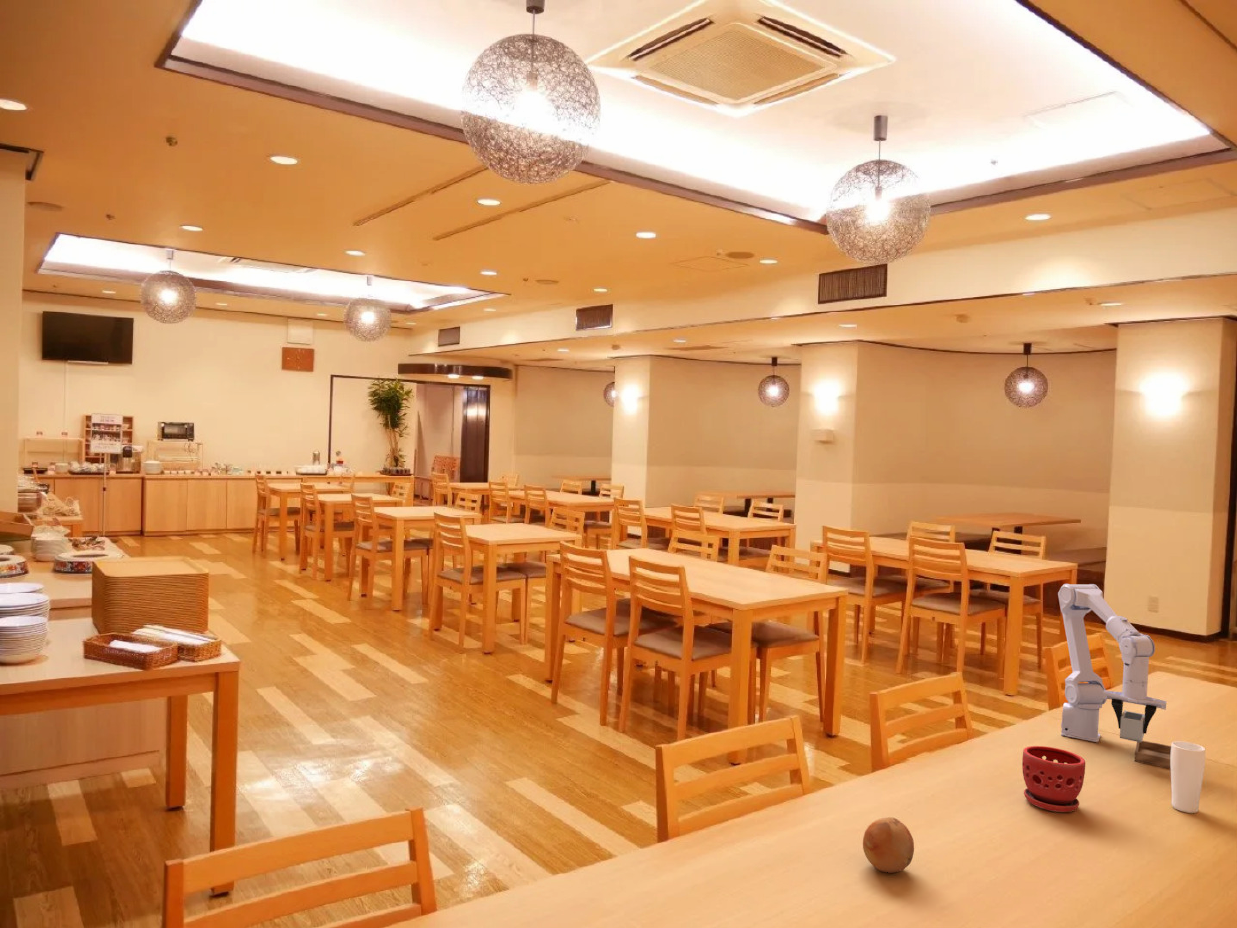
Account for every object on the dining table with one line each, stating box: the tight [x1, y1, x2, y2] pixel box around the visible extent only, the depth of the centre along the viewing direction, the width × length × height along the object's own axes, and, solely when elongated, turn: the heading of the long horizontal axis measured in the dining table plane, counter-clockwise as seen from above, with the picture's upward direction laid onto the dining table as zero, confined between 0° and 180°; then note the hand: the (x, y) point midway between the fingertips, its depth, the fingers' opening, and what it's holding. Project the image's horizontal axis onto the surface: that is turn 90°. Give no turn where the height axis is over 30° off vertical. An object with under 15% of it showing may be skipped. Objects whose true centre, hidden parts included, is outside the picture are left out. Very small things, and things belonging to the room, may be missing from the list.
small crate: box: [1119, 710, 1145, 743], centre depth 231 cm, size 5×8×6 cm, turn 144°
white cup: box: [1169, 740, 1206, 814], centre depth 201 cm, size 7×7×15 cm
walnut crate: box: [1134, 740, 1171, 770], centre depth 233 cm, size 9×12×2 cm
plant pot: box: [1021, 745, 1086, 813], centre depth 201 cm, size 13×13×12 cm
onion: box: [862, 816, 915, 874], centre depth 168 cm, size 10×10×10 cm
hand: (1132, 730), depth 231 cm, fingers closed on small crate, 5 cm apart
